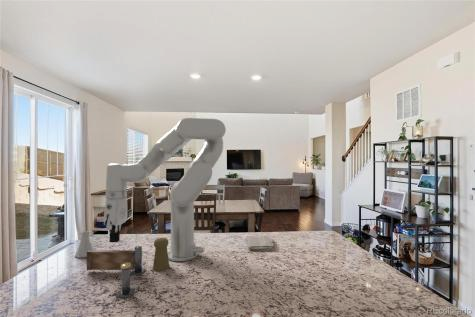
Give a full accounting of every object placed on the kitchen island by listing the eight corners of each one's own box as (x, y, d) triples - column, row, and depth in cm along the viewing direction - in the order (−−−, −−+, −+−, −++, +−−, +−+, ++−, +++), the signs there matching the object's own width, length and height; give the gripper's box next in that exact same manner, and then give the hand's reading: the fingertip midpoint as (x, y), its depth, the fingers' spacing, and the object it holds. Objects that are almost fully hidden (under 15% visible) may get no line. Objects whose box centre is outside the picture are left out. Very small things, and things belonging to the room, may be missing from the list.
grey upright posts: (152, 270, 93) (152, 245, 93) (129, 297, 74) (129, 266, 74) (135, 269, 93) (135, 245, 93) (107, 297, 74) (107, 266, 74)
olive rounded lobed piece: (172, 265, 96) (172, 236, 97) (163, 272, 91) (163, 241, 91) (159, 263, 98) (159, 235, 99) (149, 270, 93) (149, 240, 93)
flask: (98, 252, 111) (98, 229, 111) (87, 258, 104) (87, 234, 104) (83, 252, 112) (83, 229, 112) (70, 258, 104) (70, 234, 105)
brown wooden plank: (135, 268, 92) (135, 250, 92) (132, 270, 90) (132, 252, 90) (89, 267, 92) (89, 250, 92) (86, 270, 90) (86, 251, 91)
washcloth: (248, 253, 111) (248, 246, 111) (245, 240, 129) (245, 234, 129) (275, 252, 112) (275, 245, 112) (268, 239, 129) (268, 233, 130)
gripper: (115, 197, 92) (113, 248, 91) (134, 193, 107) (132, 236, 106) (95, 197, 92) (93, 247, 92) (116, 192, 107) (114, 236, 107)
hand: (114, 241), depth 99 cm, fingers closed
